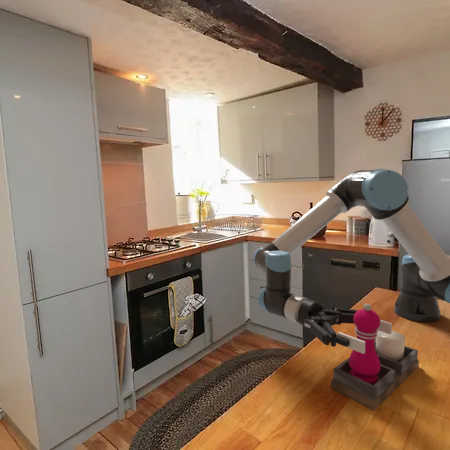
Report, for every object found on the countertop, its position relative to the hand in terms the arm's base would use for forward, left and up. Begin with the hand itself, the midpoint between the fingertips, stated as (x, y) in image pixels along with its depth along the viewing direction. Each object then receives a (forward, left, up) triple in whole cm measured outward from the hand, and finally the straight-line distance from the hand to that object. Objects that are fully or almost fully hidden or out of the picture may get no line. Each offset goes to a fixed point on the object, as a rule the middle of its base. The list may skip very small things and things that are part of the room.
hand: (378, 337), depth 78 cm
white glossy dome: (-12, -7, -12) cm, 19 cm away
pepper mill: (+1, -3, -13) cm, 13 cm away
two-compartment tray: (-6, -5, -14) cm, 16 cm away
